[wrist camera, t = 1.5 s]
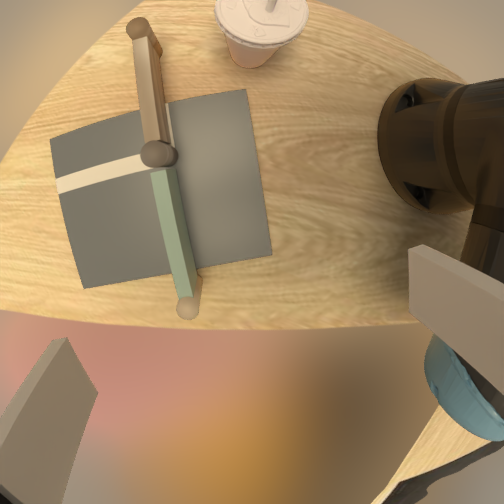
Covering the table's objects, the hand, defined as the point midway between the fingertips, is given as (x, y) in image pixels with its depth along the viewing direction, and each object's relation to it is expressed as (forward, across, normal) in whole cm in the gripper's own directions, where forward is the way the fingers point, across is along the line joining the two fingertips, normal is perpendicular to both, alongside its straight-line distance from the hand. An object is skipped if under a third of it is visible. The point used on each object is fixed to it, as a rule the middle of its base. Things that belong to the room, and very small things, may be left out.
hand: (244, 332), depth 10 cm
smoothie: (+20, -6, -16) cm, 26 cm away
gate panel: (+19, +4, 0) cm, 20 cm away
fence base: (+20, +3, -13) cm, 24 cm away
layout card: (+20, +6, -4) cm, 21 cm away
